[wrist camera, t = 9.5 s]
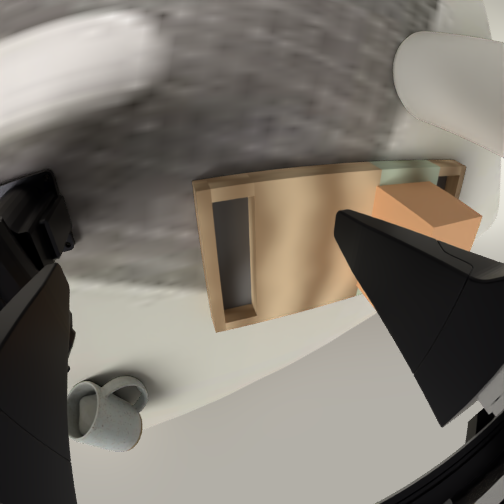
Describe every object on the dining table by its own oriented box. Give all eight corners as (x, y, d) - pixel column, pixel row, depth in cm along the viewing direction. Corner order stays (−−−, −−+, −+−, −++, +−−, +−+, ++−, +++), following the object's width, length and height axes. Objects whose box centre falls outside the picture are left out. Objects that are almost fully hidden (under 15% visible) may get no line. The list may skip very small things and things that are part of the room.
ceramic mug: (108, 414, 35) (113, 462, 29) (62, 391, 30) (61, 445, 24) (161, 388, 34) (171, 442, 28) (113, 360, 29) (116, 422, 23)
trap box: (211, 317, 29) (216, 332, 28) (191, 181, 21) (195, 191, 20) (426, 260, 36) (435, 269, 34) (453, 159, 27) (466, 166, 26)
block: (356, 285, 30) (394, 333, 25) (376, 186, 24) (433, 227, 18) (405, 270, 32) (443, 310, 26) (429, 181, 25) (482, 216, 20)
